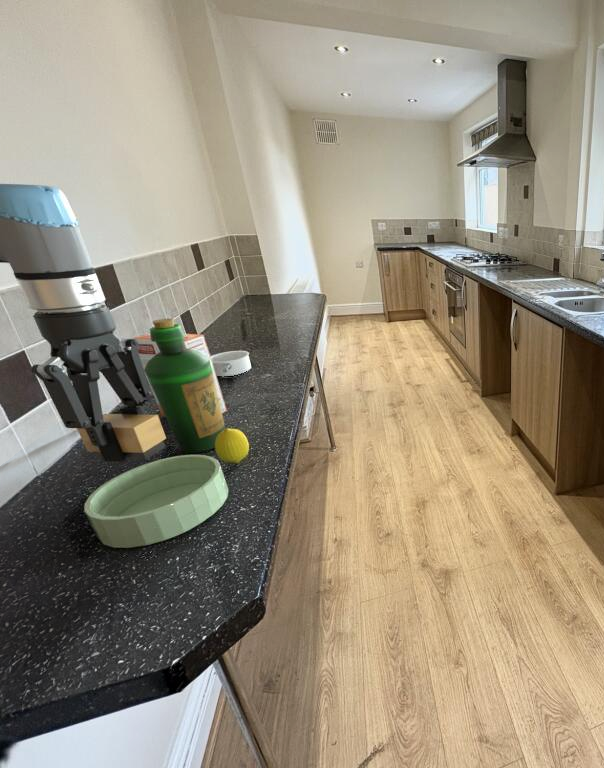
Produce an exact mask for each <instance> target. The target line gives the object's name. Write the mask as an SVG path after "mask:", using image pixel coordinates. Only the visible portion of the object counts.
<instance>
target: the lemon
mask: <svg viewBox="0 0 604 768" xmlns="http://www.w3.org/2000/svg"><path fill="white" fill-rule="evenodd" d="M225 428H226V427H225ZM214 449H215V452H216V455H217V456H218V458H219V459H220V460H222V461H223V462H225V463H231V464H239V463H240V462H241V461H242V460H244V459H245V458H246V457H247V456H248V454H249V451H250V443H249V440H248V438H247V437H246V435H245V433H244V432H242V430H240V429H237V428H229V427H227V428H226V429H225V430H224V431H222V432H221V433H219V434H218V436H217V437H216V440H215V448H214Z"/></svg>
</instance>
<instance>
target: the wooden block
mask: <svg viewBox="0 0 604 768" xmlns="http://www.w3.org/2000/svg"><path fill="white" fill-rule="evenodd" d="M102 414H103V420H104V422H111V424H112V427H113V430H114V432H115V434H116V437H117V439H118V442H119V444H120V446H121V449H122V451H123V453H124V455H125V458H126V460H133V461H135V460H136V461H137V460H138V461H146V460H148V459H150V458H151V457H153V456H154V455H156V454H158V453H159V452H161V451H162V450H163V449H165V448H166V444H165V442H164V441H165V440H166V439H167V436H166V434H165V431H164V428H163V426H162V423H161V419H160V416H159V415H158V414H146V415H139V414H122V413H102ZM76 430H77V431H78V434H79V436H80V438H81V440H82V442H83V444H84V445H83V446H84V447H85V449H86V451H87V452H90V453H91V452H92V454H93V456H94V458H95V459H96V460H104V459H103V456H102V454H101V452H100V450H99V447H98V446H94V445H93V444H92V443H91V440H90V439H89V436H88V434H87V432H86V430H85V429H84V428H76Z"/></svg>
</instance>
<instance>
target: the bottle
mask: <svg viewBox="0 0 604 768" xmlns="http://www.w3.org/2000/svg"><path fill="white" fill-rule="evenodd" d="M151 323H152V325H153V327H150V328H149V333H150V335H151V341H152V342H156V344H157V346H158V348H159V350H160V352H159V353H158V354H156V355H155V356H154V357H153V358H152V359H150V360H149V361H148V362H147V365H146V367H145V369H144V371H145V373H146V375H147V376H146V377H148V380H149V382H150V384H151V386H152V388H153V390H154V393H155V395H156V397H157V399H158V401H159V403H160V406H161V408H162V410H163V412H164V414H165V417H164V418H166V421H167V423H168V425H169V427H170V430H171V431H172V434H173V436H174V438H175V441H176V443H177V444H178V447H179V449H180V450H181V451H182V453H190V454H196V453H197V454H198V453H204V452H208V451H210V450H213V449H215V440H216V437H217V436H218V434H219V433H221V432H222V431H224V430H225V429H226V424H225V420H224V415H223V414H222V411H221V407H220V403H219V398H218V394H217V390H216V385H215V381H214V377H213V372H212V368H211V364H210V360H209V359H208V358H207V357H205V356H204V355H203V354H201V353H200V352H198V351H195V350H192V349H189V348H185V345H184V340H183V338H184V337H185V336H186V335H185V334H186V333H185V332H184V330H183V328H182V327H181V325H180V324H177V323H175V322H174V318H160V319H155V320H152V322H151ZM150 384H149V385H150Z"/></svg>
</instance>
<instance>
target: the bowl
mask: <svg viewBox="0 0 604 768" xmlns="http://www.w3.org/2000/svg"><path fill="white" fill-rule="evenodd" d="M228 497H229V487H228V484H227V481H226V478H225V475H224V472H223V469H222V466H221V464H220V462H219V460H218V459H216V458H215V457H213V456H209V455H205V454H185V455H175V456H171V457H166V458H162V459H157V460H154V461H151V462H148V463H145V464H142V465H139V466H136V467H135V468H131V469H130V470H127V471H125V472H123V473H121V474H119V475H117V476H115V477H113V478H111V479H109V480H108V481H106V482H105V483H103V484H102V485H100V486H99V487H97V489H95V490H94V491H93V492H92V493H91V494H89V496H88V498H87V499H86V501H85V502H84V510H83V512H84V514H85V516H86V518H87V519H88V521H89V523H90V525H91V528H92V529H93V531H94V533H95V535H96V537H97V539H98V540H99V541H100V542H101V543H102V544H103V546H107V547H110V548H116V549H117V548H118V549H130V548H136V547H137V548H138V547H144V546H148V545H152V544H156V543H160V542H163V541H166V540H167V541H168V540H170V539H172V538H175V537H178V536H179V535H181V534H184V533H186V532H188V531H190V530H192V529H193V528H195V527H197V526H199V525H200V524H202V523H203V522H204V521H206V520H207V519H209V518H210V517H212V516H213V515H214V514H215V513H216V512H217V511H218V510H219V509H221V508H222V507H223V505H224V503H225V502H226V500H227V499H228Z"/></svg>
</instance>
